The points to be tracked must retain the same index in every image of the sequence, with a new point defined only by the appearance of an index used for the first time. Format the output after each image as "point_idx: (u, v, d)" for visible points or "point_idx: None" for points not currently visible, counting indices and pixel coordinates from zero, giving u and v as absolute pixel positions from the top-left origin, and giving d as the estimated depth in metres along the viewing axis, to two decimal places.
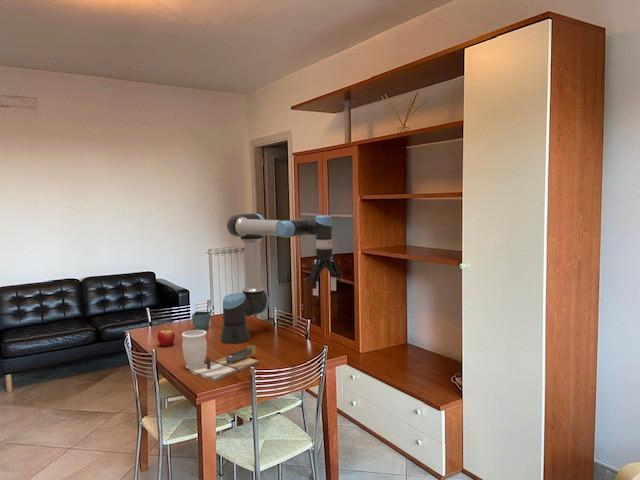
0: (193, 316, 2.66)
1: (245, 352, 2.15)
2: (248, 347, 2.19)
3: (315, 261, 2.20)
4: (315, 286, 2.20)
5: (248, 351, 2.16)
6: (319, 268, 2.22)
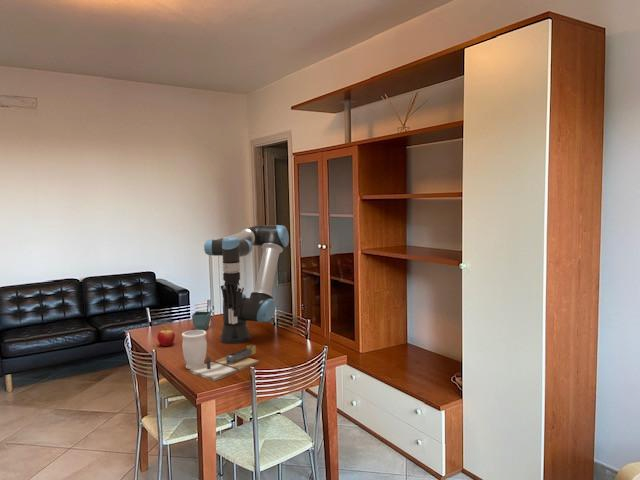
0: (193, 316, 2.66)
1: (245, 352, 2.15)
2: (248, 347, 2.19)
3: None
4: (228, 313, 2.19)
5: (248, 351, 2.16)
6: None
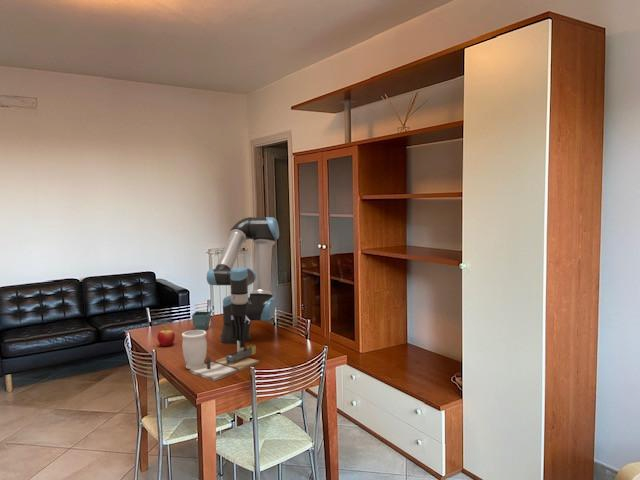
0: (193, 316, 2.66)
1: (245, 352, 2.15)
2: (248, 347, 2.19)
3: None
4: (237, 344, 2.17)
5: (248, 351, 2.16)
6: None
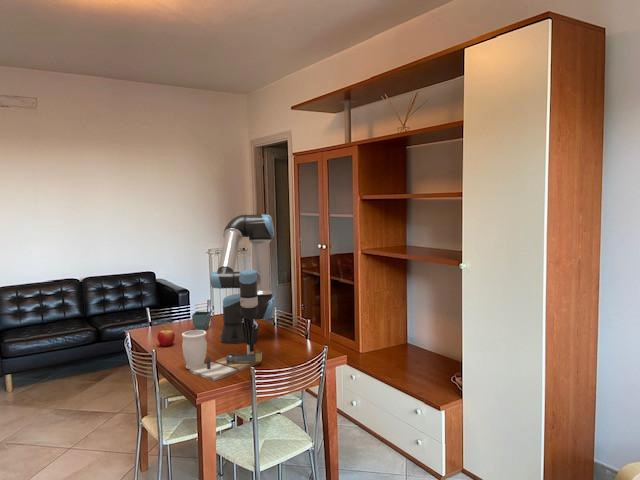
0: (193, 316, 2.66)
1: (247, 357, 2.09)
2: (256, 353, 2.10)
3: None
4: None
5: (252, 357, 2.09)
6: None
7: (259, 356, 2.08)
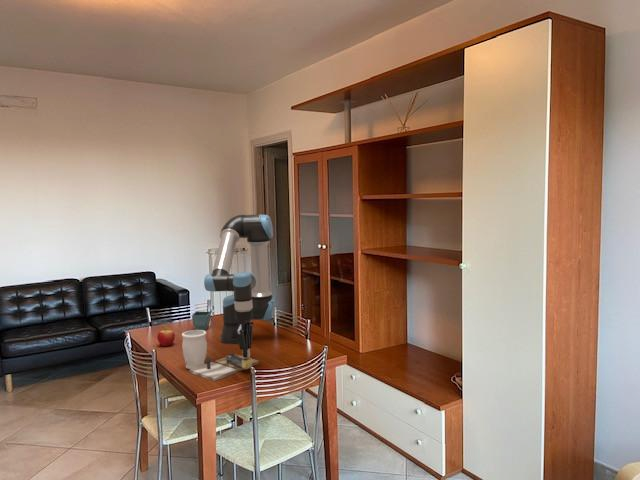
0: (193, 316, 2.66)
1: (238, 361, 2.03)
2: None
3: None
4: None
5: (240, 362, 2.02)
6: None
7: (244, 363, 1.99)
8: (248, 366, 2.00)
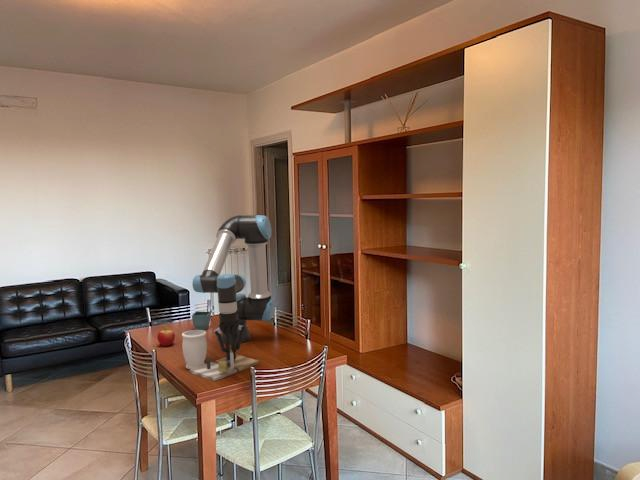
0: (193, 316, 2.66)
1: None
2: None
3: None
4: None
5: None
6: None
7: None
8: (222, 369, 1.96)
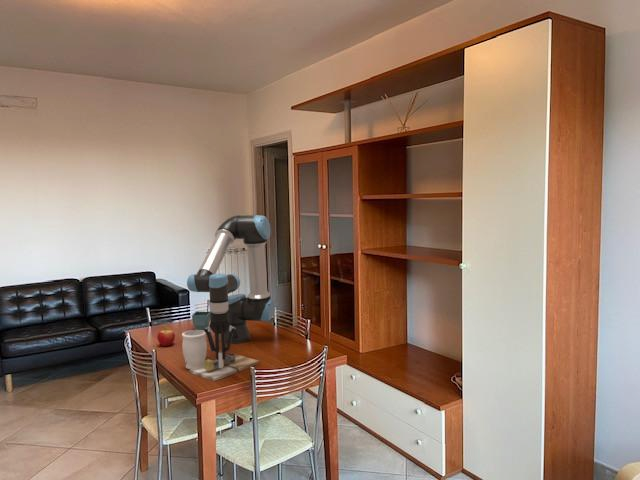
0: (193, 316, 2.66)
1: None
2: None
3: (234, 329, 2.00)
4: None
5: None
6: (224, 335, 2.00)
7: None
8: (206, 367, 1.99)
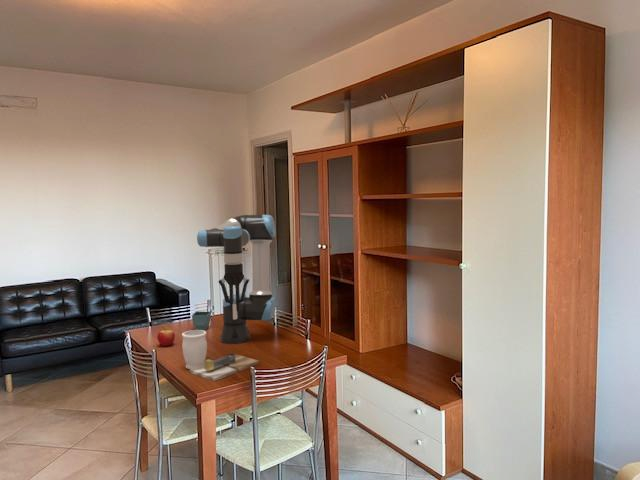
0: (193, 316, 2.66)
1: None
2: None
3: (248, 281, 2.02)
4: None
5: None
6: (238, 287, 2.02)
7: None
8: (206, 367, 1.99)
